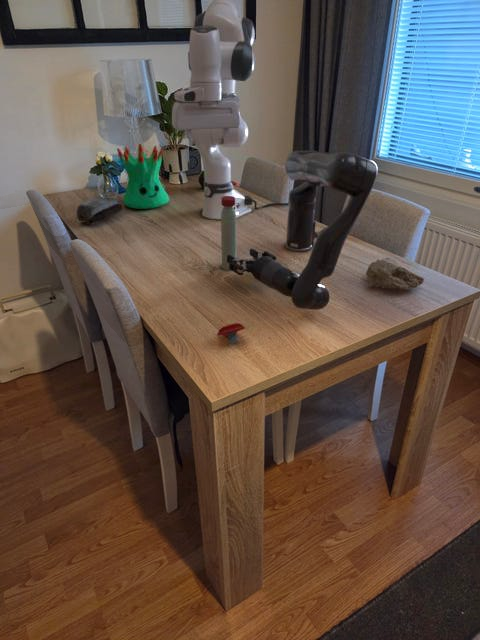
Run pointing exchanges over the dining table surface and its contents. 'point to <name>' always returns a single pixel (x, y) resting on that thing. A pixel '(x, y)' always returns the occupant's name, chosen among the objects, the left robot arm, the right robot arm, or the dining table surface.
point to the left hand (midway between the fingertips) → (207, 145)
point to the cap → (228, 201)
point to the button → (231, 331)
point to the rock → (98, 210)
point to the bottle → (228, 235)
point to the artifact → (391, 275)
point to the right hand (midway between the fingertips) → (239, 254)
